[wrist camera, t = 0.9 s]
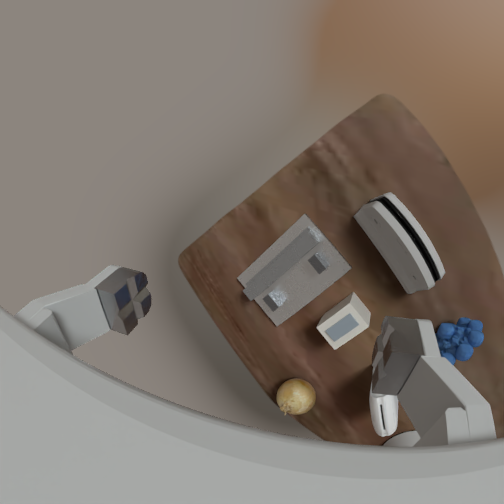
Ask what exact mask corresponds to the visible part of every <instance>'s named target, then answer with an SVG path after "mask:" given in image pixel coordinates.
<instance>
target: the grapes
mask: <svg viewBox="0 0 504 504" xmlns="http://www.w3.org/2000/svg"><path fill="white" fill-rule="evenodd" d="M482 328H483V325H482V323H481V322H480V321H479V320H470V319H469V318H460V319H459V320H458V322H457V324H456V325H455V324H453V323H441V325H440V326H439V328H438V331H437V333H435V336H436V339H437V343H438V347H439V351H440V355H441V357H445V358H446V359H447V360H448V361H449V362H450V363H451V364H452V365H454V364H455V361H456V358H457V360H460V361H466V360H468V359H469V358H470V357H471V356H472V354H473V347H478V346H480V345H481V343H482V342H483V339H484V334H483V333H482V332H481V331H482Z"/></svg>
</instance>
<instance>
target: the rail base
mask: <svg viewBox="0 0 504 504" xmlns="http://www.w3.org/2000/svg"><path fill="white" fill-rule="evenodd" d="M351 268H352V267H351V265H350V264H349V263H348V262H347V261H346V259H345V258H344V257H343V256H342V255H341V253H340V252H339V251H338V250H337V249H336V248H335V246H334V245H333V244H332V243H331V242H330V240H329V239H328V238H327V237H326V236H325V235H324V234H323V232H322V231H321V230H320V229H319V228H318V227H317V225H316V224H315V223H314V222H313V221H312V220H311V219H310V218H309V216H308V215H307V214H304V215H303V216H302V217H301V218H300V219H299V220H298V221H297V222H296V223H295V224H293V225H292V226H291V227H290V228H289V229H288V230H287V231H286V232H285V233H284V234H283V235H282V236H281V237H280V238H279V239H278V240H277V241H276V242H275V243H274V244H273V245H271V246H270V247H269V248H268V249H267V250H266V251H265V252H264V253H263V254H262V255H261V256H260V257H259V258H258V259H257V260H256V261H255V262H254V263H252V264H251V265H250V266H249V267H248V268H247V269H246V270H245V271H244V272H243V273H242V274H241V275H240V276H239V277H238V278H237V279H238V280H239V281H240V282H241V284H242V285H243V286H244V287H245V289H244V290H243V292H244V293H245V295H246V296H247V297H248V298H249V299H250V301H252V300H253V299H254V300H255V301H256V302H257V303H258V304H259V306H260V307H261V308H262V309H263V310H264V312H265V313H266V314H267V315H268V316H269V318H270V319H271V320H272V321H273V322H274V324H275V325H276V326H279V325H280V324H281V323H283V322H284V321H285V320H287V319H288V318H289V317H291V316H292V315H293V314H295V313H296V312H297V311H299V310H300V309H301V308H302V307H304V306H305V305H306V304H308V303H309V302H310V301H312V300H313V299H314V298H315V297H317V296H318V295H319V294H320V293H322V292H323V291H324V290H325V289H327V288H328V287H329V286H330V285H332V284H333V283H334V282H335V281H337V280H338V279H339V278H340V277H342V276H343V275H344V274H345V273H346V272H348V271H349V270H350V269H351Z"/></svg>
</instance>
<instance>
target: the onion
mask: <svg viewBox="0 0 504 504" xmlns="http://www.w3.org/2000/svg"><path fill="white" fill-rule="evenodd" d="M315 399H316V394H315V390H314V388H313V387H312V386H311V384H310V383H308V382H307V381H305V380H302V379H298V378H293V379H290V380H287V381H285V382H284V383H283V384H282V385H281V386H280V387H279V389H278V391H277V403H278V405H279V407H280V410H281V411H283V412H284V413H285V414H284V415H286V412H288V413H291V414H303V413H306V412H308V411H309V410H310V409H311V408H312V407H313V405H314V403H315Z"/></svg>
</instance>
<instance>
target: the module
mask: <svg viewBox="0 0 504 504" xmlns="http://www.w3.org/2000/svg"><path fill="white" fill-rule="evenodd" d="M370 315H371V313H370V312H369V310H368V309H367V308H366V307H365V305H364V304H363V303H362V302H361V300H360V299H359V298H358V297H357V295H356V294H355V293H354V292H353V293H351V294H350V295H349V296H347V297H346V298H345V299H344V300H342V301H341V302H340V303H338V304H337V305H336V306H334V307H333V308H332V309H330V310H329V311H328V312H326V313H325V314H324V315H323V316H322V318H321V320H320V322H319V324H318V325H317V327H316V328H317V329H318V330H319V332H320V333H321V334H322V335H323V336H324V338H325V339H326V340H327V341H328V342H329V344H330V345H331V346H332V347H333V348H334V350H335V349H337V348H338V347H340V346H341V345H343V344H344V343H346V342H347V341H349V340H350V339H352V338H353V337H355V336H356V335H358V334H359V333H361V332H362V331H363V330H365V329H366V328H368V327H369V322H370Z"/></svg>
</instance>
